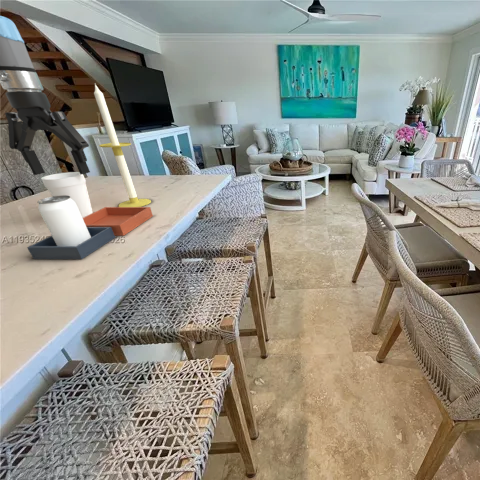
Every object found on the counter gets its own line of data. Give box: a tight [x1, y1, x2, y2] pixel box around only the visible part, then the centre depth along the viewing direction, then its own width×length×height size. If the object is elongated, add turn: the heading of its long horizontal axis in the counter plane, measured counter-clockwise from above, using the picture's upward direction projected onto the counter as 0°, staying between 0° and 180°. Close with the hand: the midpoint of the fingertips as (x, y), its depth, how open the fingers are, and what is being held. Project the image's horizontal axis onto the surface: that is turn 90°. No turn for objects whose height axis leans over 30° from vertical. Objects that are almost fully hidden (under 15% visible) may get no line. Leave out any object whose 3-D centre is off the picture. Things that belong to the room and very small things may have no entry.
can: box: [37, 195, 91, 246], centre depth 63 cm, size 6×6×12 cm
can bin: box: [26, 227, 116, 260], centre depth 65 cm, size 11×11×3 cm
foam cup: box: [40, 171, 94, 218], centre depth 81 cm, size 10×9×13 cm
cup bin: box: [83, 206, 154, 237], centre depth 77 cm, size 14×14×3 cm
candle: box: [93, 83, 152, 207], centre depth 86 cm, size 10×10×38 cm
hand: (62, 173), depth 78 cm, fingers open, 13 cm apart
